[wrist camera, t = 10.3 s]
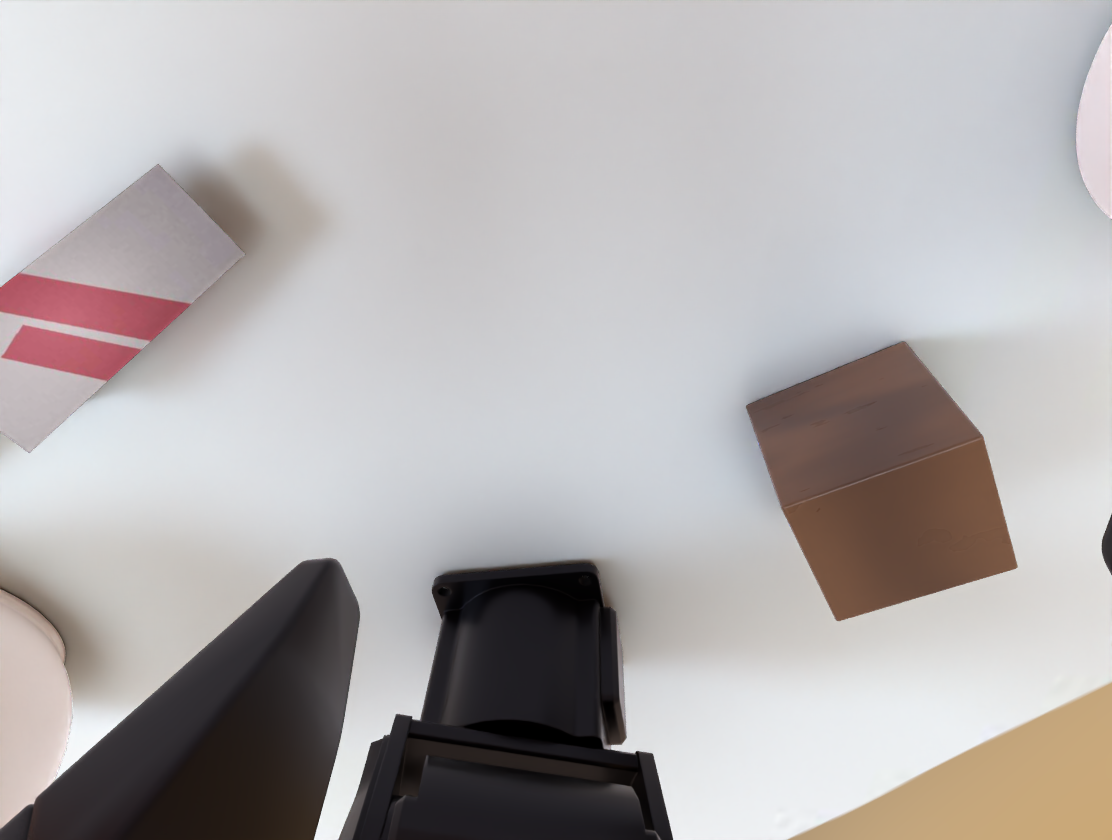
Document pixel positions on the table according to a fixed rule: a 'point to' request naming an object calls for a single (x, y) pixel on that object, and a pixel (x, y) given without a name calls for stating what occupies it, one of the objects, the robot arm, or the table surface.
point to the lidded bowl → (30, 705)
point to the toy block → (883, 483)
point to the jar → (1097, 128)
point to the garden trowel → (102, 301)
